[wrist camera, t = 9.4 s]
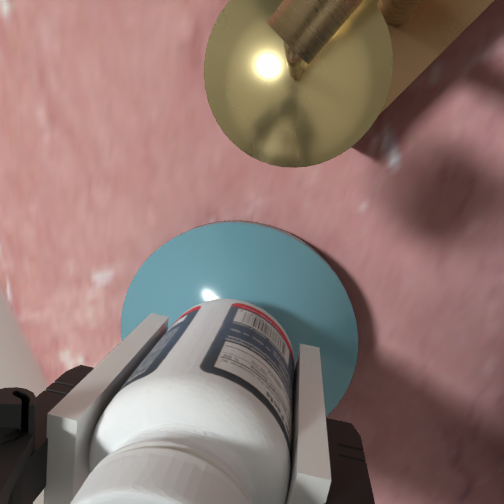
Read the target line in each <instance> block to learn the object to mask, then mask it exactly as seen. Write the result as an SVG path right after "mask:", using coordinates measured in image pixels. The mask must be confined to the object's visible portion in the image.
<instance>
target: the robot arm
mask: <svg viewBox="0 0 504 504" xmlns="http://www.w3.org/2000/svg"><path fill="white" fill-rule="evenodd" d="M168 322H169V317H168V316H163V315H158V314H154V313H151V314H150V315H148V316H147V317H146V318H145V319H144V320H143V321H142V322H141V323H140V324H139V325H138V326H137V327H136V328H135V329H134V330H133V331H132V332H131V333H130V334H129V335H128V336H127V337H126V338H125V339H124V340H123V341H122V342H121V343H120V344H119V345H118V346H117V347H116V348H115V349H113V350H112V351H111V352H110V353H109V354H108V355H107V356H106V357H105V358H104V359H103V360H102V361H101V362H100V363H99V364H98V365H97V366H96V367H95V368H92V367H87V366H83V365H80V366H77V367H75V368H73V369H71V370H68V371H66V372H65V373H64V374H62V375H61V376H60V377H59V378H58V379H57V380H56V381H55V383H52V384H51V385H50V386H49V387H48V388H46V391H43V392H42V393H41V394H39V395H38V396H37V397H35V395H34V393H33V392H31V391H29V390H27V389H23V388H17V387H16V388H3V389H0V504H33V502H34V500H35V499H36V498H37V496H38V495H39V494H40V493H41V492H42V490H43V489H44V504H70V503H71V502H72V500H73V498H74V497H75V495H76V494H77V492H78V491H79V490H80V488H81V487H82V485H83V483H84V482H85V480H86V479H87V477H88V476H89V474H90V467H89V455H90V445H91V440H92V436H93V433H94V430H95V428H96V425H97V423H98V421H99V419H100V417H101V415H102V414H103V412H104V410H105V409H106V407H107V406H108V405H109V403H110V402H111V400H112V399H113V398H114V396H115V395H116V393H117V392H118V391H119V390H120V388H121V387H122V386H123V385H124V383H125V382H126V381H127V380H128V378H129V377H130V376H131V375H132V373H133V372H134V371H135V370H136V369H137V367H138V366H139V365H140V363H141V362H142V361H143V360H144V358H145V357H146V356H147V355H148V354H149V353H150V351H151V350H152V349H153V348H154V346H155V345H156V344H157V343H158V341H159V340H160V339H161V338H162V337H163V335H164V334H165V333H166V332H167V331H168ZM294 371H295V373H294V393H293V417H292V443H291V446H292V450H291V472H290V482H289V489H288V493H287V497H286V501H285V504H375V502H374V497H373V493H372V488H371V483H370V479H369V474H368V469H367V464H366V463H365V461H366V460H365V455H364V452H363V446H362V441H361V436H360V435H359V433H358V432H357V431H356V429H355V428H354V426H353V425H352V424H351V423H346V422H342V421H337V420H333V419H328V418H326V415H325V404H324V393H323V382H322V370H321V359H320V348H319V347H314V346H310V345H305V344H300V346H299V351H298V356H297V361H296V366H295V370H294Z"/></svg>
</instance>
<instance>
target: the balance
mask: <svg viewBox="0 0 504 504" xmlns="http://www.w3.org/2000/svg"><path fill="white" fill-rule="evenodd" d="M493 1H494V0H230V1H229V2H228V3H227V5H226V6H225V8H224V9H223V10H222V12H221V13H220V15H219V17H218V19H217V21H216V23H215V24H214V27H213V29H212V32H211V34H210V37H209V41H208V45H207V48H206V54H205V61H204V80H205V89H206V94H207V98H208V102H209V105H210V108H211V110H212V113H213V115H214V117H215V119H216V121H217V123H218V124H219V126H220V127H221V129H222V130H223V132H224V133H225V134H226V136H227V137H228V138H229V139H230V140H231V141H232V142H233V143H234V144H235V145H236V146H237V147H238V148H240V149H241V150H242V151H244V152H245V153H247V154H248V155H250V156H251V157H253V158H255V159H257V160H260V161H262V162H265V163H268V164H271V165H276V166H281V167H307V166H311V165H316V164H320V163H322V162H325V161H328V160H330V159H332V158H334V157H336V156H338V155H340V154H342V153H343V152H345V151H346V150H348V149H349V148H351V147H352V146H353V145H354V144H355V143H356V142H358V141H359V140H360V139H361V138H362V137H363V136H364V134H365V133H366V132H367V131H368V130H369V129H370V127H371V126H372V124H373V123H374V122H375V120H376V119H377V117H378V116H379V115H380V114H381V113H382V112H383V111H384V110H385V109H386V108H387V107H388V106H389V105H390V104H391V103H392V102H393V101H394V100H395V99H396V98H397V97H398V96H399V95H400V94H401V93H402V92H403V91H404V90H405V89H406V88H407V87H408V86H409V85H410V84H411V83H412V82H413V81H414V80H415V79H416V78H417V77H418V76H419V75H420V74H421V73H422V72H423V71H424V70H425V69H426V68H427V67H428V66H429V65H430V64H431V63H432V62H433V61H434V60H435V59H436V58H437V57H438V56H439V55H440V54H441V53H442V52H443V51H444V50H445V49H446V48H447V47H448V46H449V45H450V44H451V43H452V42H453V41H454V40H455V39H456V38H457V37H458V36H459V35H460V34H461V33H462V32H463V31H464V30H465V29H466V28H467V27H468V26H469V25H470V24H471V23H472V22H473V21H474V20H475V19H476V18H477V17H478V16H479V15H480V14H481V13H482V12H483V11H484V10H485V9H486V8H487V7H488V6H489V5H490V4H491V3H492V2H493Z"/></svg>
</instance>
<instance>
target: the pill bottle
mask: <svg viewBox="0 0 504 504" xmlns="http://www.w3.org/2000/svg"><path fill="white" fill-rule="evenodd" d="M294 373H295V371H294V353H293V349H292V345H291V342H290V340H289V338H288V336H287V334H286V332H285V330H284V329H283V328H282V326H281V325H280V324H279V323H278V321H277V320H276V319H275V318H274V317H273V316H271V315H270V314H269V313H268V312H266V311H265V310H263V309H262V308H260V307H258V306H256V305H254V304H251V303H249V302H245V301H241V300H237V299H214V300H210V301H206V302H203V303H200V304H198V305H195V306H193V307H192V308H190V309H189V310H187V311H186V312H184V313H183V314H182V315H181V316H180V317H179V318H178V319H177V320H176V321H175V322H174V323H173V324H172V326H171V327H170V328H169V329H168V331H167V332H166V333H165V334H164V335H163V337H162V338H161V339H160V340H159V341H158V343H157V344H156V345H155V346H154V348H153V349H152V350H151V351H150V353H149V354H148V355H147V356H146V357H145V358H144V360H143V361H142V362H141V363H140V365H139V366H138V367H137V369H136V370H135V371H134V372H133V373H132V375H131V376H130V377H129V378H128V380H127V381H126V382H125V383H124V385H123V386H122V387H121V388H120V390H119V391H118V392H117V393H116V395H115V396H114V398H113V399H112V400H111V402H110V403H109V405H108V406H107V407H106V409H105V410H104V412H103V414H102V415H101V417H100V419H99V421H98V423H97V425H96V428H95V430H94V433H93V436H92V440H91V445H90V455H89V467H90V474H89V476H88V477H87V479H86V480H85V482H84V483H83V485H82V487H81V488H80V490H79V491H78V492H77V494H76V495H75V497H74V498H73V500H72V502H71V503H70V504H285V501H286V497H287V493H288V489H289V482H290V472H291V450H292V446H291V443H292V417H293V393H294Z"/></svg>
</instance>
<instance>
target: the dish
mask: <svg viewBox="0 0 504 504" xmlns="http://www.w3.org/2000/svg"><path fill="white" fill-rule="evenodd" d="M214 299H237V300H241V301H245V302H249V303H251V304H254V305H256V306H258V307H260V308H262V309H263V310H265V311H266V312H268V313H269V314H270V315H271V316H273V317H274V318H275V319H276V320H277V321H278V323H279V324H280V325H281V326H282V328H283V329H284V330H285V332H286V334H287V336H288V338H289V340H290V342H291V345H292V349H293V353H294V370H295V366H296V361H297V356H298V351H299V346H300V344H305V345H310V346H314V347H319V348H320V359H321V370H322V382H323V393H324V404H325V415H326V417H327V416H328V415H329V414H330V413H331V411H332V410H333V409H334V408H335V407H336V406H337V405H338V403H339V402H340V400H341V399H342V397H343V396H344V394H345V392H346V390H347V388H348V386H349V384H350V382H351V380H352V377H353V374H354V371H355V368H356V362H357V356H358V330H357V322H356V318H355V315H354V311H353V307H352V304H351V301H350V299H349V296H348V294H347V292H346V289H345V287H344V285H343V283H342V282H341V280H340V278H339V277H338V275H337V273H336V272H335V271H334V269H333V268H332V267H331V266H330V264H329V263H328V262H327V261H326V260H325V259H324V258H323V257H322V256H321V255H320V254H319V253H318V252H317V251H316V250H315V249H314V248H312V247H311V246H310V245H308V244H307V243H305V242H304V241H303V240H301V239H299V238H298V237H296V236H294V235H292V234H290V233H288V232H286V231H284V230H281V229H279V228H276V227H273V226H270V225H266V224H262V223H258V222H250V221H241V220H239V221H220V222H214V223H209V224H205V225H202V226H199V227H195V228H193V229H191V230H189V231H186V232H184V233H182V234H180V235H178V236H177V237H175V238H173V239H172V240H170V241H169V242H167V243H166V244H164V245H162V246H161V247H160V248H159V249H158V250H157V251H155V252H154V253H153V254H152V255H151V256H150V257H149V258H148V259H147V260H146V261H145V263H144V264H143V265H142V266H141V267H140V269H139V271H138V272H137V274H136V275H135V277H134V278H133V280H132V282H131V285H130V287H129V289H128V291H127V294H126V298H125V301H124V304H123V310H122V317H121V337H122V341H123V340H124V339H125V338H126V337H127V336H128V335H129V334H130V333H131V332H132V331H133V330H134V329H135V328H136V327H137V326H138V325H139V324H140V323H141V322H142V321H143V320H144V319H145V318H146V317H147V316H148V315H150V314H151V313H154V314H158V315H163V316H168V317H169V322H168V329H169V328H170V327H171V326H172V324H173V323H174V322H175V321H176V320H177V319H178V318H179V317H180V316H181V315H182V314H183V313H184V312H186V311H187V310H189V309H190V308H192V307H193V306H195V305H198V304H200V303H203V302H206V301H210V300H214Z"/></svg>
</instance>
